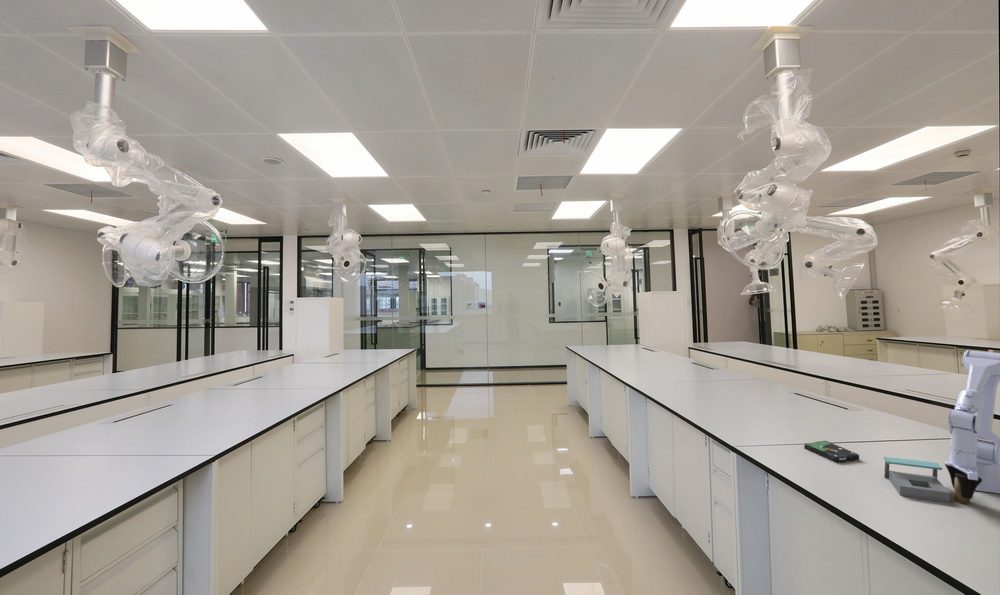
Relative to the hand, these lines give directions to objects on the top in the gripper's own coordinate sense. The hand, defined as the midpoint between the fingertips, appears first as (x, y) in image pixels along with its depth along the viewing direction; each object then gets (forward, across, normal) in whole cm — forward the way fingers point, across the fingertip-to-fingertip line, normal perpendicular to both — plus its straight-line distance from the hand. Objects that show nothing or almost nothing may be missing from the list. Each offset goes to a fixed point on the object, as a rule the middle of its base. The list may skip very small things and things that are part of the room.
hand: (962, 493), depth 146 cm
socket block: (+3, -4, -10) cm, 11 cm away
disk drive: (+3, -28, -29) cm, 41 cm away
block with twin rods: (+3, -10, -10) cm, 14 cm away
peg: (+3, 0, 0) cm, 3 cm away
